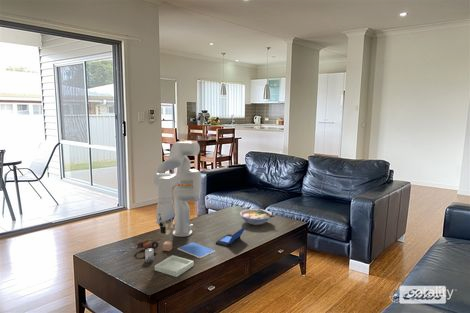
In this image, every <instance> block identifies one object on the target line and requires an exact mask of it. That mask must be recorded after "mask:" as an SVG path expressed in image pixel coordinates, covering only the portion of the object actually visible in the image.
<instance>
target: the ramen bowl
mask: <svg viewBox="0 0 470 313" xmlns="http://www.w3.org/2000/svg"><path fill="white" fill-rule="evenodd" d="M239 215H240V216H241V218H242V219H243V221H244V222H246V223H248V224H250V225H252V226H260V225H263V224H265V223H267V222H268V221H269V220H270V219H271V218H275V216H274V215H273V213H272V212H271V211H269V210H266V209H262V208H261V209H260V208H258V207H257V208H249V209H248V208H247V209H243V210H242V211H240V213H239Z"/></svg>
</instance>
